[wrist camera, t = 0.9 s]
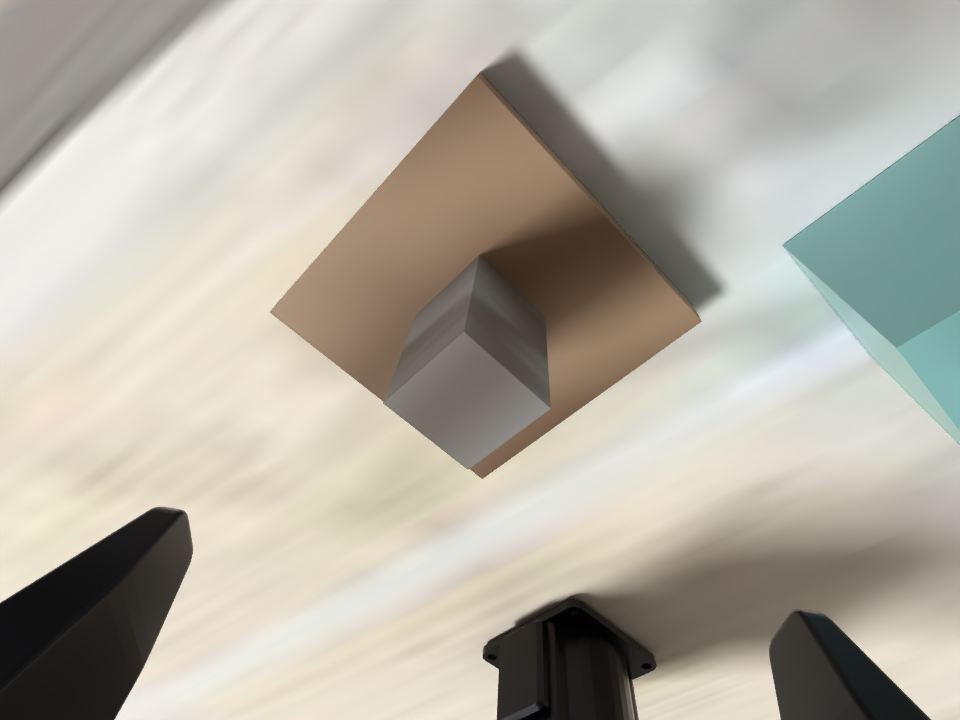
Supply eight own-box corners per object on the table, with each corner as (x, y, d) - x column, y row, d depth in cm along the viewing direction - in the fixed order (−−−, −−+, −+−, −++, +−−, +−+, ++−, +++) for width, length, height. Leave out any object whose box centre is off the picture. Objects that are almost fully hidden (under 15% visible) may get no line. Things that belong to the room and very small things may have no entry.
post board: (692, 305, 19) (754, 414, 14) (484, 458, 23) (471, 588, 18) (480, 71, 16) (456, 99, 11) (282, 297, 20) (195, 397, 15)
